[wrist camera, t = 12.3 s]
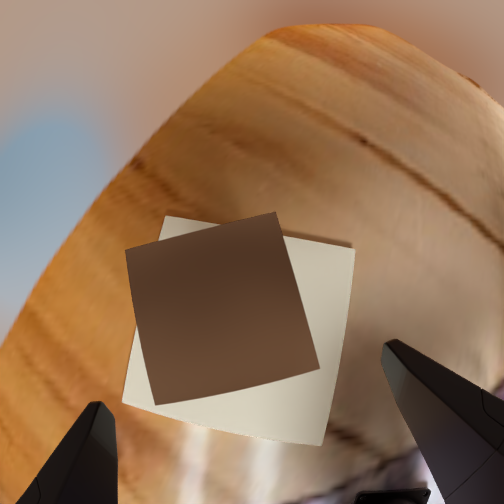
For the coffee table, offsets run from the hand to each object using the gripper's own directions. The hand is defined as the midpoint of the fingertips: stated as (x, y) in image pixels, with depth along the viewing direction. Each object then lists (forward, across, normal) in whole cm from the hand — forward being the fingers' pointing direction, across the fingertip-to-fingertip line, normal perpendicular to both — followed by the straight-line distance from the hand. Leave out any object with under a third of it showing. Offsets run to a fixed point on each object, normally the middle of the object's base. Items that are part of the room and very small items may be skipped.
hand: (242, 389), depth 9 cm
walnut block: (+10, 0, +6) cm, 12 cm away
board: (+10, 0, +7) cm, 13 cm away
